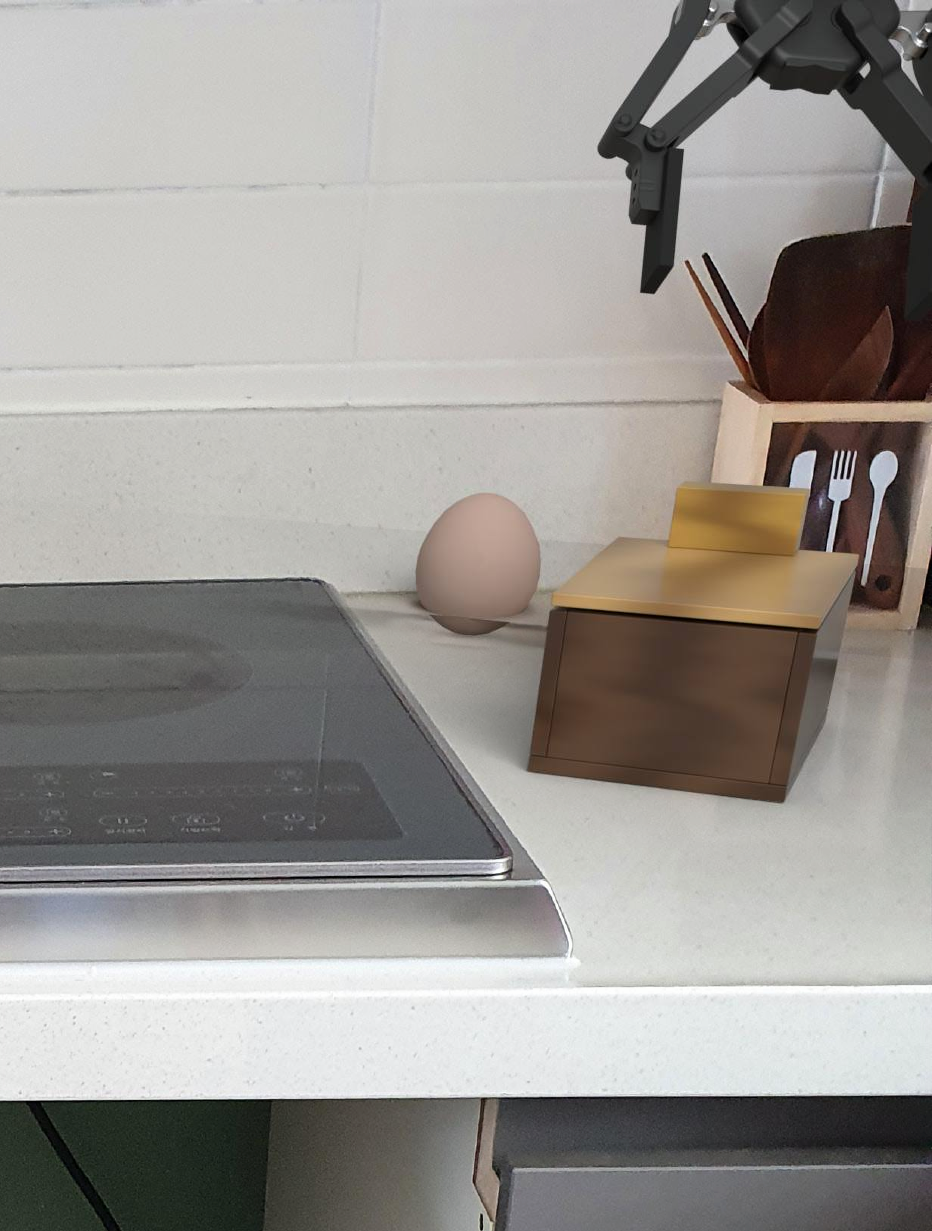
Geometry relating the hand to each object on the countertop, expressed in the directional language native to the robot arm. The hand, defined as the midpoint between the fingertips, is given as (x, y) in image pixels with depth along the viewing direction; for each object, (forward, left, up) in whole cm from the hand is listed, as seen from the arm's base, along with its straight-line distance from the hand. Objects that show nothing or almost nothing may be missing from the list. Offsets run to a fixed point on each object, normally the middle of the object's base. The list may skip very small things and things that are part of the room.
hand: (790, 294), depth 108 cm
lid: (0, +15, -12) cm, 19 cm away
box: (0, +15, -20) cm, 25 cm away
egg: (+15, -5, -20) cm, 26 cm away
